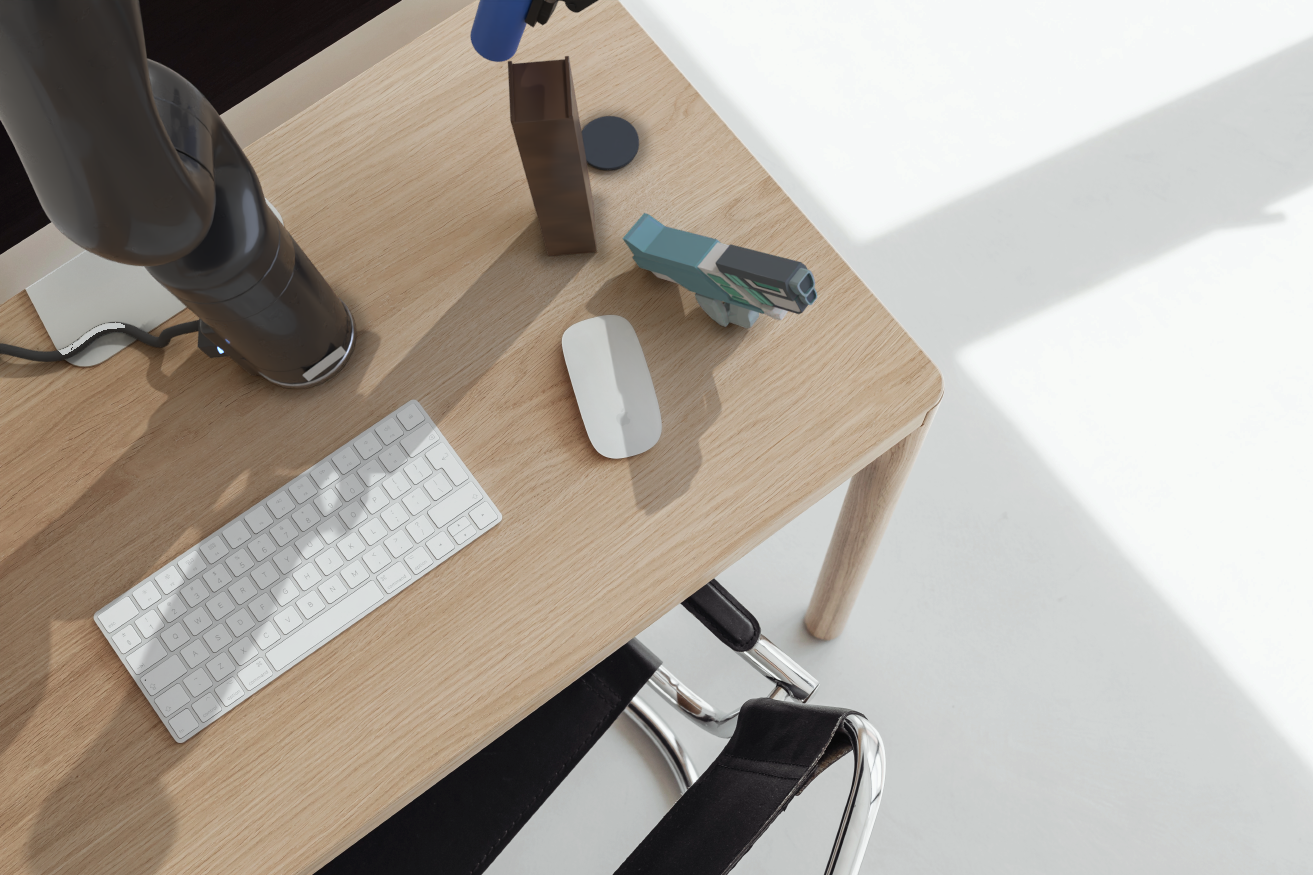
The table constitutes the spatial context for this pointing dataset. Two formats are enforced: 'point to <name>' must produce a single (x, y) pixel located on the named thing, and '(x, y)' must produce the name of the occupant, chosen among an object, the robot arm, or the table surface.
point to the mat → (610, 142)
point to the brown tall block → (553, 153)
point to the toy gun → (722, 273)
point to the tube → (499, 28)
